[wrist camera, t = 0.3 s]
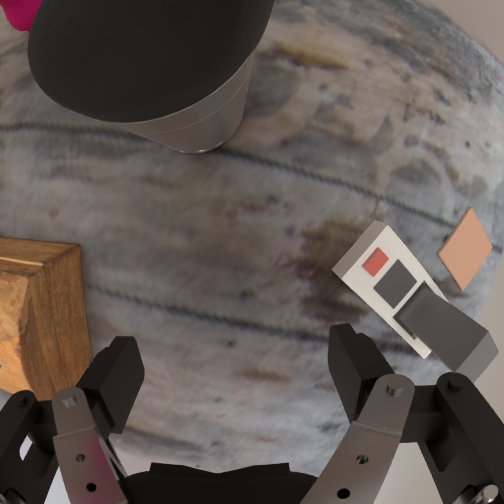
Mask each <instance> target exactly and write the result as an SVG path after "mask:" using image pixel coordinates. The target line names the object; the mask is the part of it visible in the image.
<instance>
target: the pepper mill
mask: <svg viewBox="0 0 504 504" xmlns="http://www.w3.org/2000/svg"><path fill="white" fill-rule="evenodd" d="M41 1H42V0H0V5H1V6H2V7H3V10H4V12H5V15H6V17H7V20H8V21H9V23H10V24H11V25H12V26H13V27H14V28H15V29H17V30H19V31H27V30H28V31H29V32H30V29H31V25H32V22H33V19H34V16H35V13H36V11H37V9H38V7H39V5H40V3H41Z"/></svg>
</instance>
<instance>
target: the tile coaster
mask: <svg viewBox="0 0 504 504" xmlns="http://www.w3.org/2000/svg"><path fill="white" fill-rule="evenodd" d="M491 249H492V245H491V243H490V241H489V239H488V237H487V235H486V233H485V231H484V229H483V228H482V226H481V224H480V222H479V220H478V218H477V216H476V215H475V213H474V211H473V209H472V208H471V207H469V208H468V209H467V211H466V212H465V214H464V215H463V217H462V218H461V220H460V221H459V223H458V224H457V226H456V227H455V229H454V230H453V232H452V233H451V234H450V236H449V237H448V239H447V240H446V241H445V243H444V244H443V246H442V247H441V248H440V250H439V251H438V252H437V255H438V257H439V258H440V259H441V261H442V262H443V264H444V265H445V267H446V268H447V270H448V271H449V273H450V274H451V276H452V277H453V279H454V280H455V282H456V283H457V285H458V286H459V288H460V290H462V291H463V290H464V289H465V287H466V286H467V285H468V283H469V282H470V280H471V279H472V278H473V276H474V275H475V273H476V272H477V270H478V269H479V267H480V266H481V264H482V263H483V261H484V260H485V258H486V257H487V255H488V254H489V252H490V250H491Z"/></svg>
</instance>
